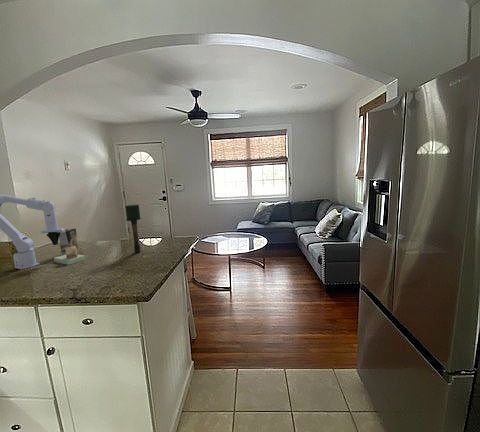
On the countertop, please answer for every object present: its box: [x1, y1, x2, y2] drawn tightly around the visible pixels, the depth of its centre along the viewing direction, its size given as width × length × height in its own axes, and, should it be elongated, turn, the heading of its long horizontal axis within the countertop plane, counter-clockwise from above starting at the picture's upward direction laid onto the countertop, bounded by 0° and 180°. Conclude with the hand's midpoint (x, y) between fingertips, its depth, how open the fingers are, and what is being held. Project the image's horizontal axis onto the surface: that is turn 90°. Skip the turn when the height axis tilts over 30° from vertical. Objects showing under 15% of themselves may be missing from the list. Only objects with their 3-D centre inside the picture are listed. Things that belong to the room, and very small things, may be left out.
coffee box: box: [58, 228, 80, 256], centre depth 180 cm, size 9×6×16 cm
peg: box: [65, 246, 78, 259], centre depth 164 cm, size 6×6×8 cm
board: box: [53, 253, 87, 266], centre depth 166 cm, size 10×15×2 cm, turn 61°
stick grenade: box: [124, 204, 142, 254], centre depth 174 cm, size 8×9×30 cm
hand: (55, 244), depth 164 cm, fingers closed
